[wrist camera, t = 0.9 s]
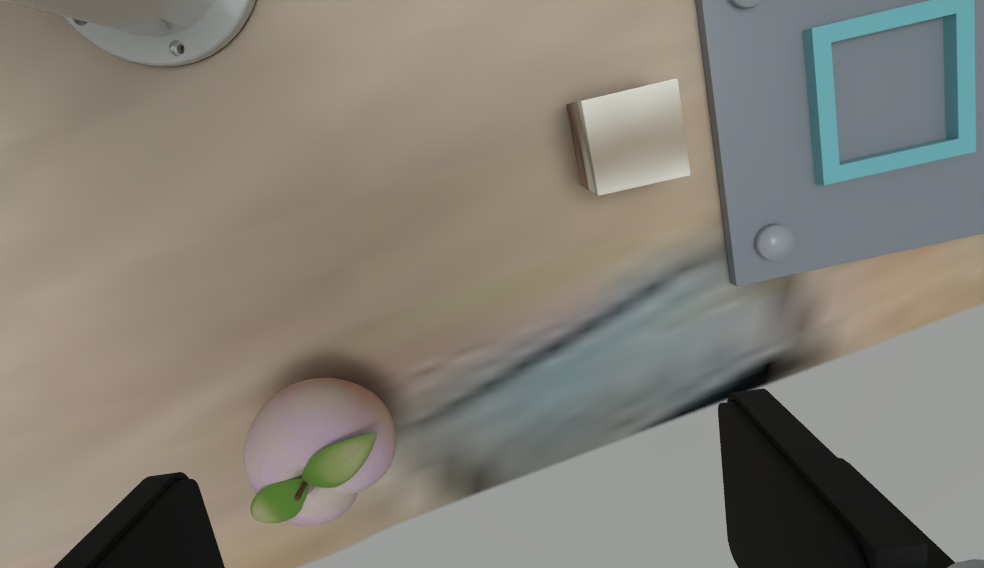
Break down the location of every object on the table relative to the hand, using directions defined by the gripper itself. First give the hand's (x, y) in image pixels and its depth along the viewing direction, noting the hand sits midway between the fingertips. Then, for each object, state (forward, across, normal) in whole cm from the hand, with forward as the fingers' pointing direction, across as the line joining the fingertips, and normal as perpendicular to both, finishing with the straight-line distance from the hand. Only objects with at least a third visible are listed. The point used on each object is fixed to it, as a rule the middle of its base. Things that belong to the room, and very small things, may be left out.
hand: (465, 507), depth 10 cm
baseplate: (+29, -25, -5) cm, 38 cm away
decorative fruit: (+29, +12, +10) cm, 33 cm away
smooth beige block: (+29, -9, -5) cm, 31 cm away
